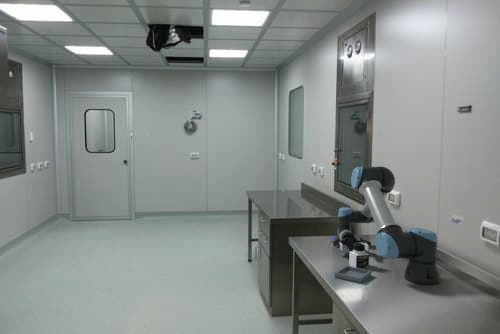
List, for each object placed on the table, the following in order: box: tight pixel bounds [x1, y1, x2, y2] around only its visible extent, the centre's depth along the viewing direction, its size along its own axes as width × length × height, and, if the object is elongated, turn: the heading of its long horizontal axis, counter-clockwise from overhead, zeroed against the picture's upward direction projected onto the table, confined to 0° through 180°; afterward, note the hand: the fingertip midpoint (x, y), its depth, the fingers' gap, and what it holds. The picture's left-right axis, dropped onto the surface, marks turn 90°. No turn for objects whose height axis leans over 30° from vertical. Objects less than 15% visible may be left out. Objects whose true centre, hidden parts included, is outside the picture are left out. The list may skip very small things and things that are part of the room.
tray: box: [334, 265, 372, 285], centre depth 191 cm, size 13×13×2 cm
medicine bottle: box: [348, 242, 370, 269], centre depth 206 cm, size 7×7×12 cm
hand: (355, 248), depth 215 cm, fingers open, 13 cm apart
